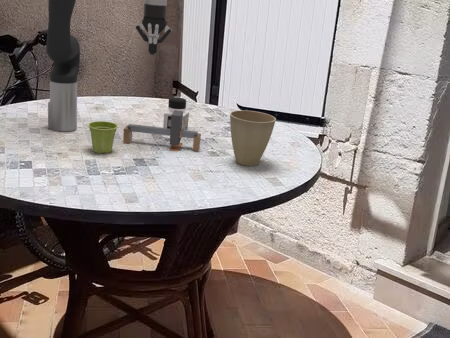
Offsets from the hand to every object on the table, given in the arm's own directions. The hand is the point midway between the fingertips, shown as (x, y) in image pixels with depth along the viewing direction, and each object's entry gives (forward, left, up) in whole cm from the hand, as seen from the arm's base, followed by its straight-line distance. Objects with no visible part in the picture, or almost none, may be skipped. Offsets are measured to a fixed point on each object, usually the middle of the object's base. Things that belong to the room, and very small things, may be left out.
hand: (152, 54), depth 196 cm
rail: (+7, -12, -29) cm, 32 cm away
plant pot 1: (-11, -25, -29) cm, 40 cm away
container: (+9, +7, -29) cm, 31 cm away
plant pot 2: (+37, -20, -29) cm, 51 cm away
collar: (+12, -12, -27) cm, 32 cm away
